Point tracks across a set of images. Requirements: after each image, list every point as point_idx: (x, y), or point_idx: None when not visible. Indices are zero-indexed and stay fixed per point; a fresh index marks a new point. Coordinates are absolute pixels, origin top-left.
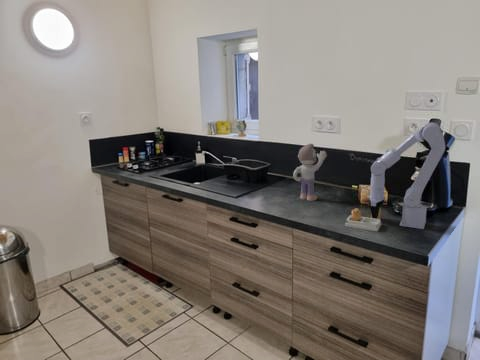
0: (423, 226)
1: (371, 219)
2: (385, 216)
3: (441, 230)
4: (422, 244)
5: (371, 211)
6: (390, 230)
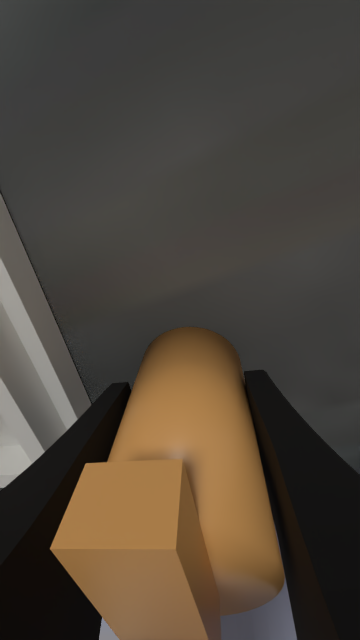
0: None
1: (9, 414)
2: (341, 418)
3: None
4: None
5: (39, 465)
6: None
